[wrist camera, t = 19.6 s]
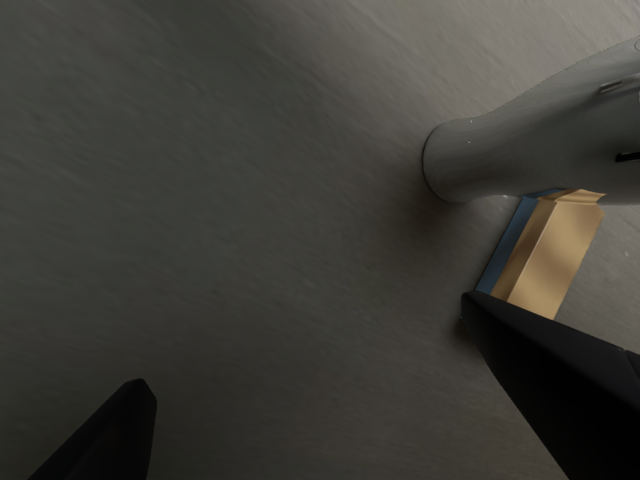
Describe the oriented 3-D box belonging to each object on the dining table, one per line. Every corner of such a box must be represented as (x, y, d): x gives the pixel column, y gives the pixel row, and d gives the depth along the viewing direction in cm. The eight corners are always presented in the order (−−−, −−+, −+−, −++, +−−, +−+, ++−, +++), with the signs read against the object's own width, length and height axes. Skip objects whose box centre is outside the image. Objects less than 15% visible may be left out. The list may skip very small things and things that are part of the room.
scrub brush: (493, 347, 27) (531, 364, 24) (454, 321, 26) (488, 337, 23) (561, 213, 29) (605, 213, 25) (527, 182, 27) (570, 178, 24)
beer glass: (496, 122, 26) (850, 9, 12) (488, 212, 26) (821, 209, 12) (420, 107, 23) (744, -57, 9) (412, 205, 24) (711, 192, 10)
